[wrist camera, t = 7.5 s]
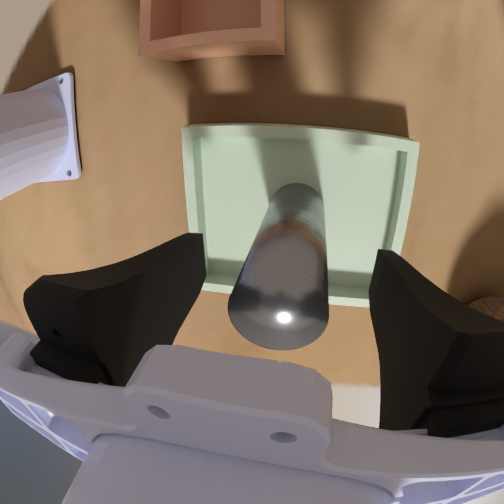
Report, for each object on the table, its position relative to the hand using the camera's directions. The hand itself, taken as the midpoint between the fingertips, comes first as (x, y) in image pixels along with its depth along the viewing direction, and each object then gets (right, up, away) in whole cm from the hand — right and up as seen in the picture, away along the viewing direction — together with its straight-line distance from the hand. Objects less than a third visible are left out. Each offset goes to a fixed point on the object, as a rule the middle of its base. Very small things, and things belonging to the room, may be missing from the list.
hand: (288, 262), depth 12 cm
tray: (+1, +3, +5) cm, 6 cm away
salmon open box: (-3, +14, 0) cm, 14 cm away
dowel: (+1, +3, +4) cm, 5 cm away
